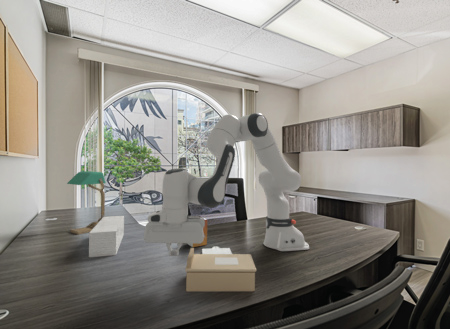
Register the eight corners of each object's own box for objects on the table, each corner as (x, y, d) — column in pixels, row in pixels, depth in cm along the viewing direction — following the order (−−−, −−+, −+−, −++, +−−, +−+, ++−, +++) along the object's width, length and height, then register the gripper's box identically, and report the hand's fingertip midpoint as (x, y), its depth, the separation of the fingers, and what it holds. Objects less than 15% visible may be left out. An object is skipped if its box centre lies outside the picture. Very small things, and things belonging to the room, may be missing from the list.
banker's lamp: (114, 228, 148) (115, 171, 148) (78, 236, 130) (79, 172, 130) (99, 224, 156) (100, 171, 156) (64, 231, 139) (65, 171, 139)
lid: (250, 256, 90) (250, 247, 90) (256, 271, 77) (256, 261, 77) (189, 255, 89) (189, 247, 89) (185, 271, 76) (185, 261, 76)
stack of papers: (116, 255, 105) (116, 231, 105) (88, 257, 102) (89, 232, 102) (123, 234, 136) (124, 215, 136) (103, 236, 133) (103, 216, 133)
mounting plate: (201, 250, 113) (201, 246, 113) (228, 250, 115) (228, 246, 115) (203, 267, 95) (203, 262, 95) (235, 266, 97) (235, 261, 97)
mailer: (249, 272, 90) (249, 257, 90) (254, 291, 77) (255, 272, 77) (190, 272, 89) (190, 256, 89) (186, 291, 76) (186, 272, 76)
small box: (192, 247, 116) (193, 221, 116) (187, 244, 121) (187, 218, 121) (207, 245, 120) (207, 219, 120) (201, 241, 126) (201, 216, 126)
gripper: (205, 213, 86) (204, 252, 86) (148, 213, 85) (147, 251, 85) (204, 217, 80) (203, 259, 80) (142, 216, 79) (141, 258, 79)
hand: (174, 255), depth 83 cm, fingers closed
